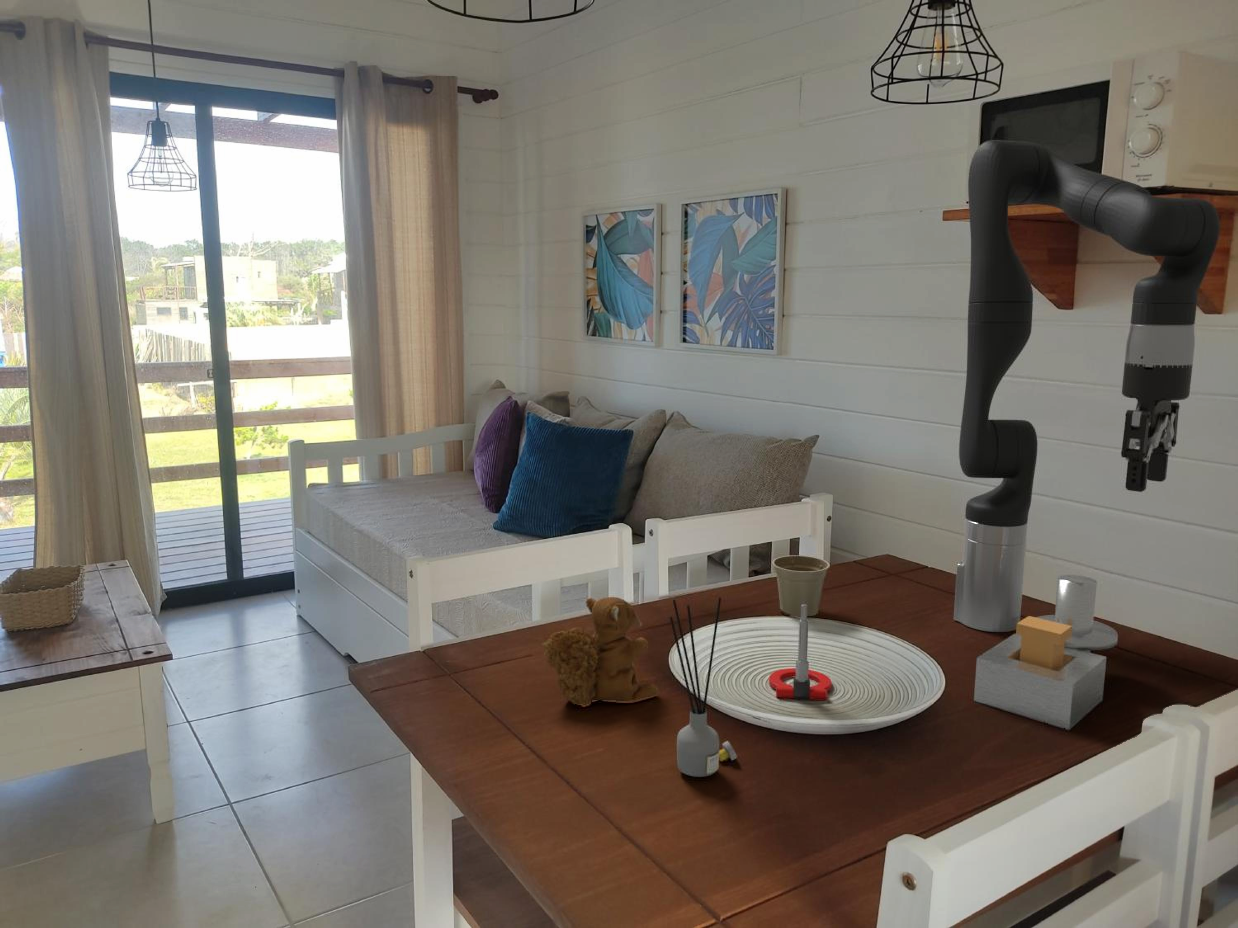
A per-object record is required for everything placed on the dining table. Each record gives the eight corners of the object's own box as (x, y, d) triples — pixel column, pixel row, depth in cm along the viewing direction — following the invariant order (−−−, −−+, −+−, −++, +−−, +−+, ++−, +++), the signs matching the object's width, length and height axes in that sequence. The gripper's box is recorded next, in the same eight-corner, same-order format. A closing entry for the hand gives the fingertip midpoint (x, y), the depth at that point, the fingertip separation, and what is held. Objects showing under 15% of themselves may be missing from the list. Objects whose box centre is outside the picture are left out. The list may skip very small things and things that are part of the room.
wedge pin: (1010, 698, 123) (1016, 623, 121) (1023, 689, 126) (1029, 615, 124) (1053, 711, 119) (1060, 634, 117) (1065, 702, 122) (1072, 625, 120)
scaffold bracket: (973, 700, 122) (980, 598, 120) (1040, 653, 138) (1047, 562, 136) (1069, 730, 114) (1078, 621, 112) (1128, 676, 130) (1137, 580, 127)
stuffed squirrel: (664, 696, 124) (664, 602, 122) (572, 723, 117) (570, 623, 114) (623, 671, 132) (623, 583, 130) (535, 694, 125) (533, 601, 123)
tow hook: (768, 674, 133) (769, 699, 123) (771, 586, 131) (772, 604, 122) (828, 677, 131) (833, 703, 122) (832, 589, 130) (837, 608, 120)
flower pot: (833, 622, 152) (835, 571, 150) (775, 622, 152) (776, 571, 150) (821, 603, 161) (823, 555, 159) (767, 603, 161) (768, 555, 160)
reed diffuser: (687, 795, 100) (689, 618, 96) (642, 772, 105) (642, 602, 101) (747, 762, 107) (751, 596, 103) (701, 742, 112) (703, 582, 108)
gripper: (1143, 356, 126) (1131, 474, 128) (1107, 362, 116) (1096, 489, 119) (1207, 359, 120) (1193, 481, 123) (1175, 365, 110) (1161, 498, 113)
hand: (1145, 485), depth 121 cm, fingers open, 8 cm apart
